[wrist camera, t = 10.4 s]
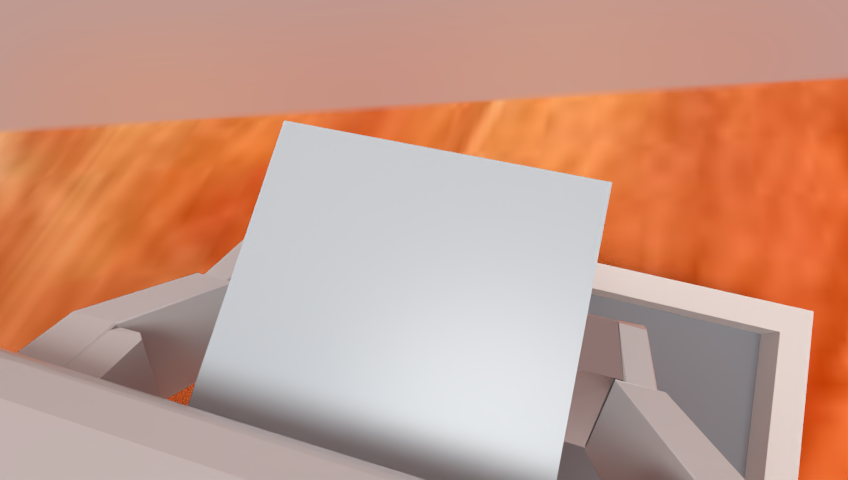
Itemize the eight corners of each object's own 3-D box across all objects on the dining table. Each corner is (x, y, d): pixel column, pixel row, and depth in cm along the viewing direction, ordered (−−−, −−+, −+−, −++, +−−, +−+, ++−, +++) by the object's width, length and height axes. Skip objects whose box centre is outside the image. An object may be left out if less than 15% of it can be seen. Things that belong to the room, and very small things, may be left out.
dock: (435, 481, 25) (426, 505, 21) (489, 258, 28) (490, 238, 23) (727, 573, 23) (784, 622, 19) (757, 320, 25) (813, 311, 21)
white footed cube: (337, 412, 14) (165, 472, 7) (388, 230, 16) (289, 103, 8) (507, 462, 14) (534, 599, 6) (548, 266, 15) (615, 162, 7)
